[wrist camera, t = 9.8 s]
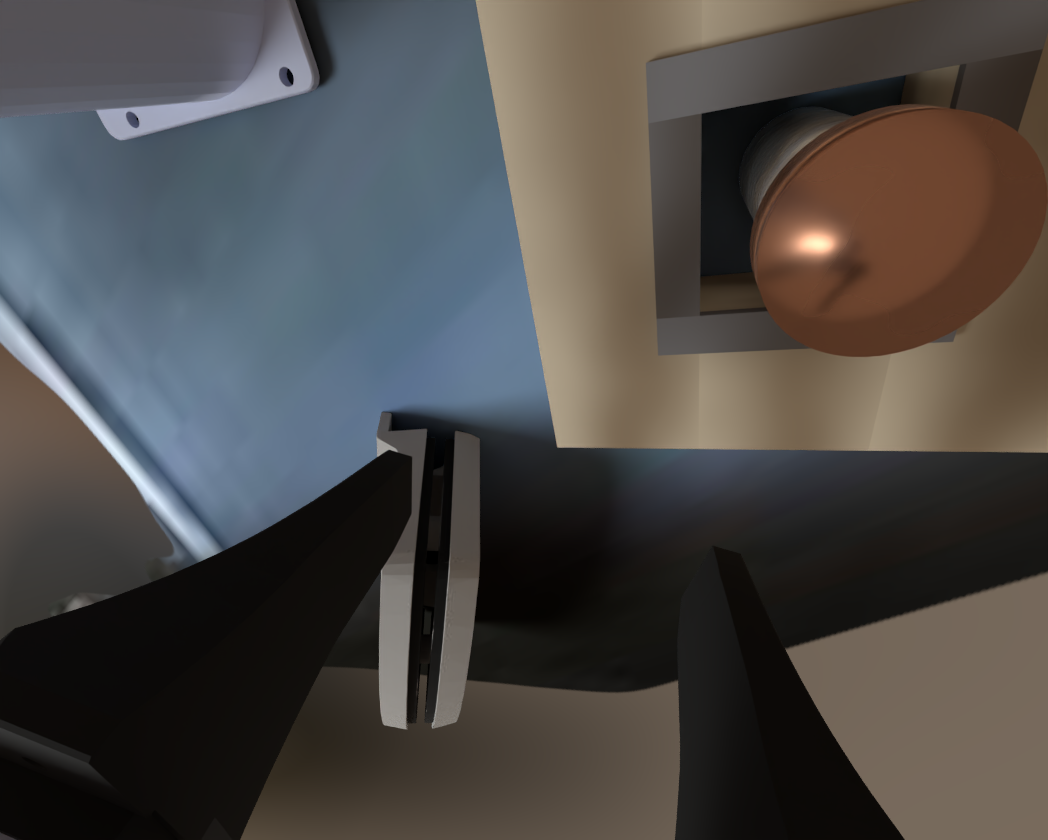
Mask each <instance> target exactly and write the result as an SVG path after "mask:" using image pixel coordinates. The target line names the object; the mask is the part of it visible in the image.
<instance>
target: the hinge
mask: <svg viewBox="0 0 1048 840" xmlns="http://www.w3.org/2000/svg"><path fill="white" fill-rule="evenodd" d="M435 441H436V438H427V429H416V430H402V431H392V414H391V413H386V412H382V413H381V417H380V422H379V426H378V430H377V457H378V456H380V455H381V454H382V453H384V452H385V451H387V450H392V451H395V452H399V453H402V454H405V455H409V456H412V514H411V516H410V518H409V521H408V523H407V525H406V527H405V529H404V531H403V533H402V535H401V537H400V539H399V541H398V543H397V545H396V547H395V549H394V551H393V553H392V554H391V556H390V557H389V559H388V561H387V562H386V564H385V565H384V567H383V568H382V570H381V596H380V631H379V693H380V709H381V716H382V721H383V724H384V725H387V726H392V727H397V728H403V729H408V723H416V718H417V705H418V691H419V679H420V666H421V664H428V675H427V691H426V706H425V707H426V708H425V723H432V728H436V727H440V726H443V725H447V724H451V723H455V722H456V721H457V718H458V716H459V713H460V710H461V705H462V700H463V696H464V690H465V685H466V679H467V672H468V665H469V658H470V651H471V643H472V635H473V627H474V618H475V609H476V600H477V591H478V582H479V567H480V439H479V438H477V437H475V436H473V435H471V434H468V433H464V432H460V431H455V437H454V439H446V441H445V454H444V466H441V467H439V468H437V469H435V470H433V469H434V455H435ZM427 551H438V564H427V563H426V560H427ZM423 605H425V606H430V607H434V609H432V615H431V628H430V634H429V635H423V628H424V612H425V608H423Z"/></svg>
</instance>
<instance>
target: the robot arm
mask: <svg viewBox="0 0 1048 840" xmlns="http://www.w3.org/2000/svg"><path fill="white" fill-rule="evenodd" d="M288 69H289V70H291V72H292V74H293V77H294V82H293V85H292V84H291V83H290V82H289V80H288V79H287V70H288ZM319 79H320V76H319V71H318V67H317V64H316V61H315V59H314V56H313V53H312V50H311V47H310V44H309V41H308V38H307V35H306V32H305V29H304V26H303V23H302V20H301V17H300V14H299V11H298V8H297V5H296V2H295V0H0V118H4V117H17V116H29V115H42V114H55V113H68V112H81V111H94V110H96V111H97V113H98V115H99V117H100V119H101V120H102V122H103V124H104V126H105V128H106V129H107V130H108V132H109V133H110V134H111V135H112V136H113V137H114V138H116V139H118V140H128V139H133V138H137V137H140V136H144V135H148V134H152V133H156V132H159V131H163V130H167V129H171V128H175V127H179V126H182V125H186V124H190V123H194V122H198V121H201V120H205V119H209V118H213V117H217V116H220V115H224V114H228V113H232V112H236V111H240V110H243V109H247V108H251V107H255V106H259V105H262V104H266V103H270V102H274V101H278V100H281V99H285V98H289V97H293V96H297V95H301V94H304V93H308V92H312V91H314V90H315V89H316V88H317V87H318V85H319ZM136 116H137V118H138V120H139V122H138V121H137V119H136ZM411 514H412V456H409V455H405V454H402V453H399V452H395V451H392V450H387V451H385V452H384V453H382V454H381V455H380V456H378V457H377V458H375V459H374V460H372V461H371V462H370V463H368V464H367V465H365V466H364V467H362V468H361V469H360V470H358V471H357V472H355V473H354V474H352V475H351V476H350V477H348V478H347V479H345V480H344V481H342V482H341V483H339V484H338V485H336V486H335V487H333V488H332V489H330V490H329V491H327V492H326V493H324V494H323V495H321V496H320V497H318V498H317V499H315V500H314V501H312V502H310V503H309V504H307V505H306V506H304V507H302V508H301V509H299V510H297V511H296V512H294V513H292V514H291V515H289V516H287V517H286V518H284V519H282V520H281V521H279V522H277V523H275V524H274V525H272V526H270V527H268V528H267V529H265V530H263V531H261V532H259V533H258V534H256V535H254V536H252V537H250V538H248V539H246V540H244V541H242V542H240V543H238V544H236V545H234V546H232V547H230V548H228V549H226V550H224V551H222V552H220V553H218V554H216V555H214V556H212V557H209V558H207V559H205V560H203V561H201V562H198V563H196V564H194V565H192V566H190V567H187V568H185V569H183V570H180V571H178V572H176V573H174V574H171V575H169V576H166V577H164V578H161V579H159V580H156V581H153V582H151V583H148V584H146V585H143V586H140V587H138V588H135V589H133V590H130V591H128V592H125V593H122V594H120V595H117V596H114V597H111V598H108V599H106V600H103V601H100V602H97V603H94V604H91V605H88V606H85V607H82V608H79V609H76V610H72V611H69V612H66V613H63V614H60V615H57V616H53V617H50V618H48V619H44V620H41V621H38V622H35V623H31V624H28V625H24V626H21V627H18V628H15V629H14V630H12V631H11V632H10V633H8V634H7V635H6V636H5V637H3V638H2V639H1V640H0V840H240V838H241V836H242V834H243V832H244V829H245V827H246V824H247V822H248V820H249V818H250V816H251V814H252V811H253V809H254V807H255V805H256V802H257V800H258V798H259V796H260V794H261V791H262V789H263V787H264V784H265V782H266V780H267V778H268V776H269V774H270V772H271V769H272V767H273V765H274V763H275V761H276V759H277V757H278V755H279V753H280V750H281V748H282V746H283V744H284V742H285V740H286V738H287V736H288V734H289V732H290V730H291V727H292V725H293V723H294V721H295V719H296V717H297V715H298V713H299V711H300V709H301V707H302V705H303V703H304V701H305V699H306V697H307V695H308V693H309V691H310V689H311V687H312V686H313V684H314V682H315V680H316V678H317V676H318V674H319V672H320V670H321V668H322V666H323V664H324V663H325V661H326V659H327V657H328V655H329V653H330V651H331V649H332V647H333V646H334V644H335V642H336V640H337V639H338V637H339V635H340V634H341V632H342V630H343V629H344V627H345V626H346V624H347V622H348V621H349V619H350V618H351V616H352V615H353V613H354V612H355V610H356V609H357V607H358V606H359V604H360V602H361V601H362V599H363V598H364V596H365V595H366V593H367V592H368V590H369V589H370V587H371V585H372V584H373V582H374V581H375V579H376V578H377V576H378V575H379V573H380V572H381V570H382V568H383V567H384V565H385V564H386V562H387V561H388V559H389V557H390V556H391V554H392V553H393V551H394V549H395V547H396V545H397V543H398V541H399V539H400V537H401V535H402V533H403V531H404V529H405V527H406V525H407V523H408V521H409V518H410V516H411ZM677 645H678V684H679V685H678V688H679V722H680V776H679V792H678V808H677V821H676V822H677V823H676V834H675V840H904V838H903V837H902V835H901V834H900V832H899V831H898V830H897V828H896V827H895V825H894V824H893V823H892V821H891V820H890V819H889V817H888V816H887V815H886V813H885V812H884V810H883V809H882V808H881V806H880V805H879V803H878V802H877V801H876V799H875V798H874V796H873V795H872V794H871V792H870V791H869V790H868V788H867V786H866V785H865V783H864V782H863V781H862V779H861V778H860V776H859V775H858V773H857V772H856V770H855V769H854V767H853V766H852V764H851V763H850V761H849V759H848V758H847V756H846V755H845V753H844V752H843V750H842V749H841V747H840V745H839V744H838V742H837V741H836V739H835V737H834V736H833V734H832V733H831V731H830V729H829V728H828V726H827V724H826V723H825V721H824V719H823V718H822V716H821V714H820V712H819V711H818V709H817V707H816V706H815V704H814V702H813V700H812V698H811V697H810V695H809V693H808V691H807V690H806V688H805V686H804V684H803V683H802V681H801V679H800V677H799V675H798V673H797V671H796V669H795V667H794V665H793V664H792V662H791V660H790V658H789V656H788V654H787V652H786V650H785V648H784V646H783V644H782V642H781V640H780V638H779V636H778V634H777V632H776V630H775V628H774V626H773V624H772V621H771V619H770V617H769V615H768V613H767V611H766V609H765V607H764V604H763V602H762V600H761V598H760V596H759V593H758V591H757V589H756V587H755V585H754V582H753V580H752V578H751V576H750V573H749V571H748V569H747V567H746V564H745V562H744V560H743V558H742V556H741V554H739V553H736V552H732V551H729V550H726V549H722V548H719V547H716V546H712V548H711V549H710V551H709V553H708V554H707V556H706V558H705V559H704V561H703V563H702V564H701V566H700V568H699V569H698V571H697V573H696V574H695V576H694V578H693V580H692V581H691V583H690V585H689V586H688V588H687V590H686V591H685V593H684V595H683V596H682V599H681V608H680V618H679V629H678V641H677Z"/></svg>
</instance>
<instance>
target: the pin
mask: <svg viewBox="0 0 1048 840" xmlns="http://www.w3.org/2000/svg"><path fill="white" fill-rule="evenodd" d="M739 188H740V192H741V195H742V197H743V200H744V202H745V204H746V206H747V208H748V210H749V212H750V214H751V216H752V218H753V221H754V222H753V226H752V231H751V238H750V259H751V266H752V270H753V273H754V277H755V280H756V283H757V285H758V288H759V291H760V294H761V297H762V300H763V302H764V304H765V306H766V308H767V310H768V312H769V314H770V315H771V317H772V318H773V320H774V321H775V322H776V324H777V325H778V326H779V327H780V328H781V329H782V330H783V331H784V332H785V333H786V334H788V335H789V336H791V337H792V338H793V339H795V340H796V341H798V342H800V343H802V344H803V345H805V346H807V347H810V348H812V349H815V350H818V351H820V352H824V353H828V354H832V355H839V356H847V357H872V356H883V355H888V354H894V353H899V352H903V351H906V350H910V349H914V348H917V347H919V346H922V345H925V344H927V343H930V342H933V341H935V340H937V339H939V338H941V337H943V336H945V335H947V334H950V333H951V332H953V331H955V330H956V329H958V328H960V327H961V326H963V325H965V324H966V323H968V322H969V321H971V320H972V319H973V318H975V317H976V316H978V315H979V314H980V313H982V312H983V311H984V310H985V309H987V308H988V307H989V306H990V305H991V304H992V303H993V302H995V301H996V300H997V299H998V298H999V297H1000V296H1001V295H1002V294H1003V293H1004V292H1005V291H1006V290H1007V288H1008V287H1009V286H1010V285H1011V284H1012V283H1013V281H1014V280H1015V279H1016V278H1017V276H1018V275H1019V274H1020V272H1021V271H1022V270H1023V268H1024V267H1025V265H1026V263H1027V262H1028V260H1029V258H1030V257H1031V255H1032V254H1033V251H1034V249H1035V247H1036V245H1037V243H1038V240H1039V238H1040V236H1041V232H1042V229H1043V226H1044V222H1045V218H1046V211H1047V204H1048V194H1047V182H1046V177H1045V173H1044V169H1043V166H1042V164H1041V162H1040V160H1039V158H1038V156H1037V153H1036V152H1035V151H1034V149H1033V148H1032V147H1031V145H1030V144H1029V143H1028V141H1027V140H1026V139H1025V138H1024V137H1023V136H1021V135H1020V134H1019V133H1018V132H1017V131H1016V130H1015V129H1013V128H1012V127H1010V126H1008V125H1006V124H1005V123H1003V122H1001V121H999V120H997V119H995V118H992V117H989V116H986V115H983V114H981V113H975V112H970V111H964V110H958V109H952V108H945V107H938V106H932V105H920V104H905V105H895V106H888V107H883V108H879V109H875V110H871V111H868V112H865V113H862V114H859V115H856V116H851V115H847V114H844V113H840V112H837V111H833V110H829V109H826V108H821V107H801V108H797V109H793V110H790V111H787V112H785V113H783V114H781V115H779V116H777V117H776V118H774V119H773V120H771V121H770V122H769V123H767V124H766V125H765V126H764V127H763V128H762V129H761V130H760V131H759V132H758V133H757V134H756V135H755V136H754V138H753V139H752V140H751V142H750V144H749V145H748V147H747V149H746V151H745V153H744V155H743V158H742V160H741V164H740V169H739Z"/></svg>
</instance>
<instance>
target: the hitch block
mask: <svg viewBox="0 0 1048 840" xmlns="http://www.w3.org/2000/svg"><path fill="white" fill-rule="evenodd" d="M476 5H477V10H478V16H479V21H480V27H481V32H482V38H483V43H484V49H485V54H486V60H487V65H488V70H489V76H490V81H491V87H492V92H493V98H494V103H495V109H496V114H497V120H498V125H499V131H500V136H501V142H502V147H503V153H504V158H505V163H506V169H507V174H508V180H509V185H510V191H511V196H512V202H513V207H514V213H515V218H516V224H517V229H518V235H519V240H520V245H521V251H522V256H523V262H524V267H525V273H526V278H527V284H528V289H529V295H530V300H531V306H532V311H533V317H534V322H535V327H536V333H537V338H538V344H539V349H540V355H541V360H542V366H543V371H544V377H545V382H546V388H547V393H548V399H549V404H550V410H551V415H552V420H553V426H554V431H555V437H556V442H557V447H558V448H658V449H759V450H860V451H961V452H1048V204H1047V211H1046V218H1045V222H1044V226H1043V229H1042V232H1041V236H1040V238H1039V240H1038V243H1037V245H1036V247H1035V249H1034V251H1033V254H1032V255H1031V257H1030V258H1029V260H1028V262H1027V263H1026V265H1025V267H1024V268H1023V270H1022V271H1021V272H1020V274H1019V275H1018V276H1017V278H1016V279H1015V280H1014V281H1013V283H1012V284H1011V285H1010V286H1009V287H1008V288H1007V290H1006V291H1005V292H1004V293H1003V294H1002V295H1001V296H1000V297H999V298H998V299H997V300H996V301H995V302H993V303H992V304H991V305H990V306H989V307H988V308H987V309H985V310H984V311H983V312H982V313H980V314H979V315H978V316H976V317H975V318H973V319H972V320H971V321H969V322H968V323H966V324H965V325H963V326H961V327H960V328H958V329H956V330H955V331H953V332H951V333H950V334H947V335H945V336H943V337H941V338H939V339H937V340H935V341H933V342H930V343H927V344H925V345H922V346H919V347H917V348H914V349H910V350H906V351H903V352H899V353H894V354H888V355H883V356H872V357H847V356H839V355H832V354H828V353H824V352H820V351H818V350H815V349H812V348H810V347H807V346H805V345H803V344H802V343H800V342H798V341H796V340H795V339H793V338H792V337H791V336H789V335H788V334H786V333H785V332H784V331H783V330H782V329H781V328H780V327H779V326H778V325H777V324H776V322H775V321H774V320H773V318H772V317H771V315H770V314H769V312H768V310H767V308H766V306H765V304H764V302H763V300H762V297H761V294H760V291H759V288H758V285H757V283H756V280H755V277H754V273H753V272H747V273H736V274H725V275H714V276H703V277H700V248H701V122H702V113H707V112H712V111H717V110H722V109H728V108H733V107H738V106H744V105H749V104H754V103H760V102H765V101H770V100H775V99H781V98H786V97H791V96H797V95H802V94H807V93H813V92H818V91H823V90H828V89H834V88H839V87H844V86H850V85H855V84H860V83H866V82H871V81H876V80H881V79H887V78H892V77H897V76H903V75H906V78H905V83H904V88H903V93H902V99H901V104H900V105H905V104H920V105H932V106H938V107H945V108H952V109H958V110H964V111H970V112H975V113H981V114H983V115H986V116H989V117H992V118H995V119H997V120H999V121H1001V122H1003V123H1005V124H1006V125H1008V126H1010V127H1012V128H1013V129H1015V130H1016V131H1017V132H1018V133H1019V134H1020V135H1021V136H1023V137H1024V138H1025V139H1026V140H1027V141H1028V143H1029V144H1030V145H1031V147H1032V148H1033V149H1034V151H1035V152H1036V153H1037V156H1038V158H1039V160H1040V162H1041V164H1042V166H1043V169H1044V173H1045V177H1046V182H1047V194H1048V0H476Z"/></svg>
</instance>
